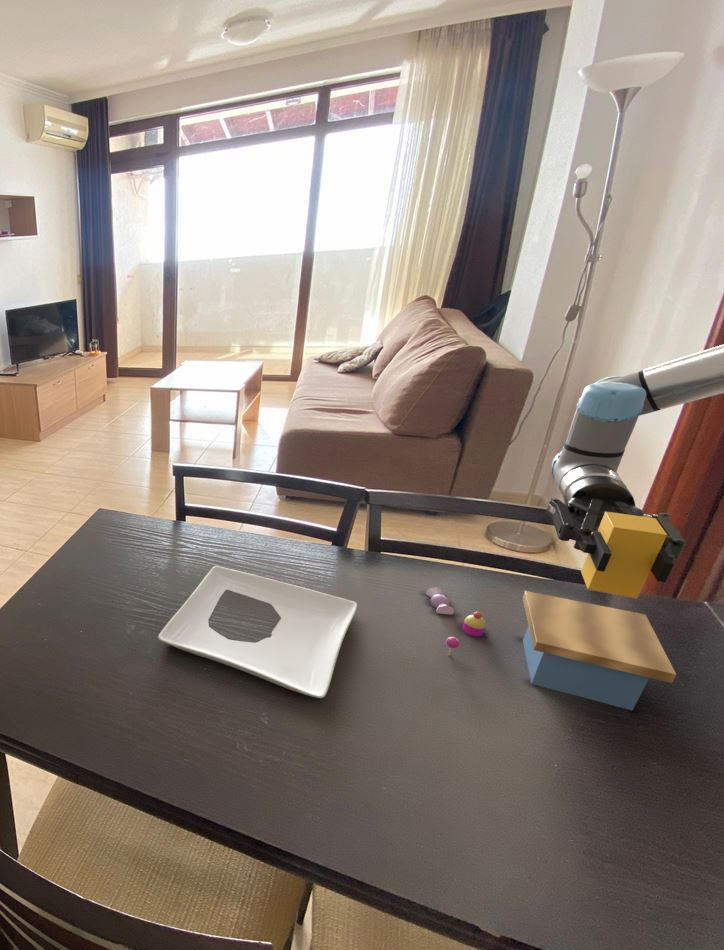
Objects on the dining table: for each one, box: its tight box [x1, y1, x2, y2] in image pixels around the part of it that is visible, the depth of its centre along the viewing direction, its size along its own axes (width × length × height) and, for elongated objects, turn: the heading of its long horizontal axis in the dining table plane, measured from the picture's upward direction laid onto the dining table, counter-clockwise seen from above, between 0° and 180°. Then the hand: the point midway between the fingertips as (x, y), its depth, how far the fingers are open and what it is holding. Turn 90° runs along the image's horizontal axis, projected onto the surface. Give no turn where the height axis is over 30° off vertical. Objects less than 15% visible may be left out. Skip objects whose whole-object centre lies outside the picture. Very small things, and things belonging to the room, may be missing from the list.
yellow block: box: [580, 512, 667, 600], centre depth 74 cm, size 5×5×10 cm
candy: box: [425, 586, 487, 657], centre depth 93 cm, size 18×8×6 cm, turn 164°
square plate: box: [157, 565, 358, 699], centre depth 96 cm, size 27×27×4 cm
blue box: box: [522, 625, 650, 711], centre depth 81 cm, size 11×11×8 cm
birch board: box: [522, 590, 677, 684], centre depth 79 cm, size 14×14×2 cm
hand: (634, 567), depth 69 cm, fingers closed on yellow block, 5 cm apart
